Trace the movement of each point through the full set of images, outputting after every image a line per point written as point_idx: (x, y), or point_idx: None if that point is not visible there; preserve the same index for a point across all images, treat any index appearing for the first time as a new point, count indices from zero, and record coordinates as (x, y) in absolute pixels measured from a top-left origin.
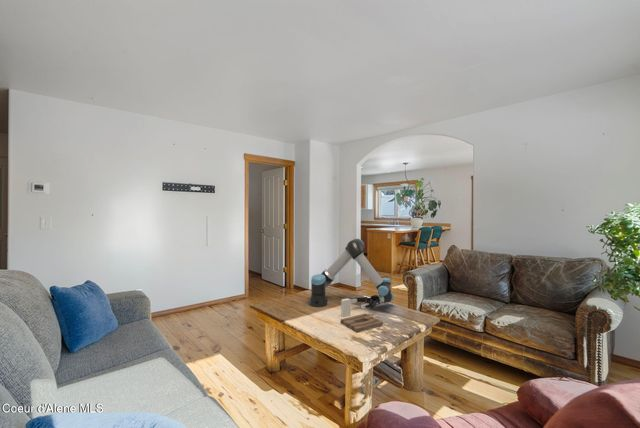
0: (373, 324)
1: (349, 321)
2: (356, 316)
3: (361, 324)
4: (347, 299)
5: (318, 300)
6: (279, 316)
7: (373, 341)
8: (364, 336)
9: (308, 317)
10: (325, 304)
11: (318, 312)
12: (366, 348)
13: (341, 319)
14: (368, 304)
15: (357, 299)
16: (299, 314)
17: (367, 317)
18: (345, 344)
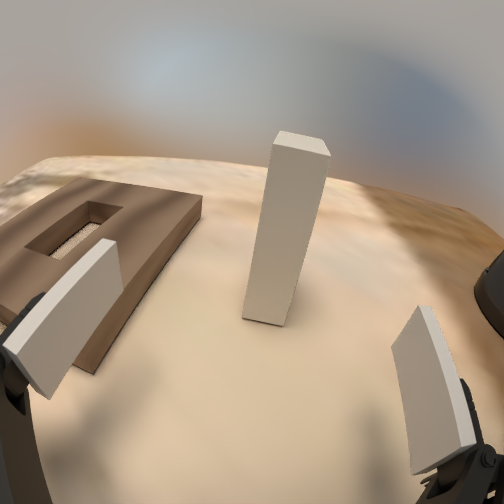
0: (4, 226)
1: (140, 196)
2: (132, 250)
3: (65, 199)
4: (291, 141)
5: (497, 261)
6: (393, 193)
7: (19, 190)
8: (48, 194)
9: (355, 209)
10: (495, 315)
11: (402, 251)
12: (39, 170)
13: (196, 196)
14: (9, 350)
15: (465, 481)
16: (396, 214)
17: (39, 273)
18: (97, 162)
